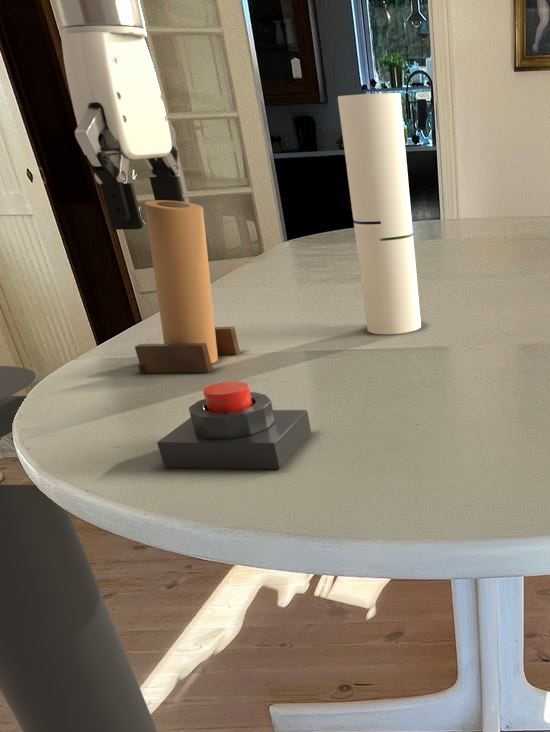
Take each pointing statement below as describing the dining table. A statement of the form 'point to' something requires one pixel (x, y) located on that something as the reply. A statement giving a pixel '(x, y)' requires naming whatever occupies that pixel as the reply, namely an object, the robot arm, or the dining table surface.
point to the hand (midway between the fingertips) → (152, 223)
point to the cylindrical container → (381, 210)
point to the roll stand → (185, 354)
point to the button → (227, 397)
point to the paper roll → (182, 272)
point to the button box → (236, 437)
